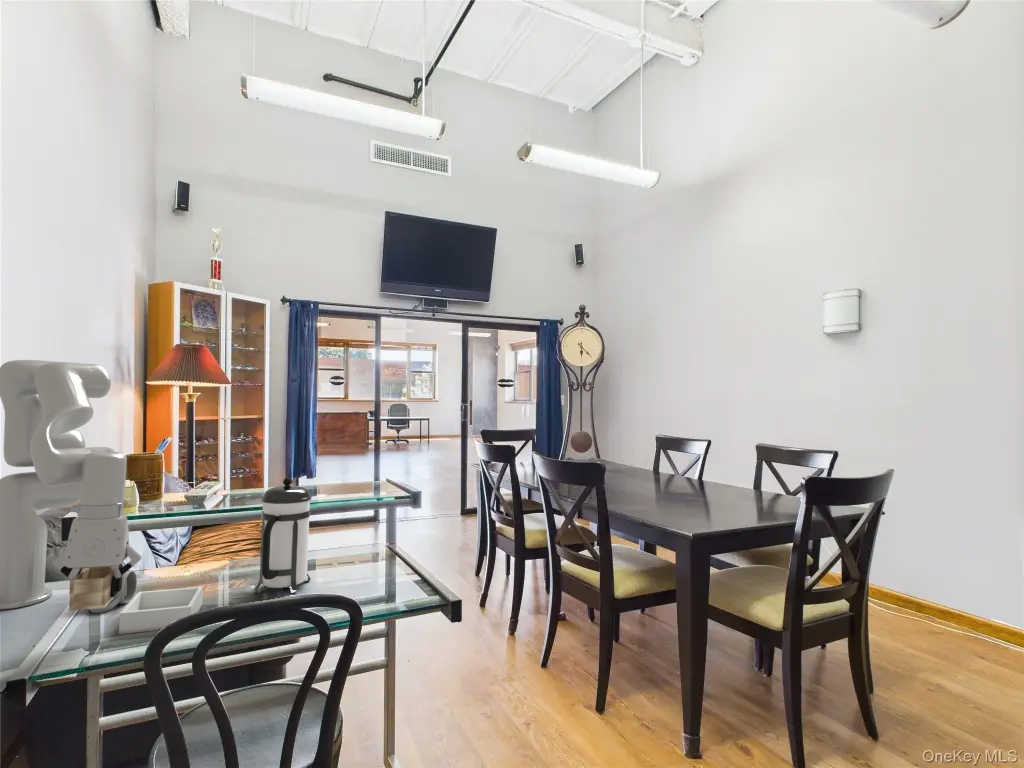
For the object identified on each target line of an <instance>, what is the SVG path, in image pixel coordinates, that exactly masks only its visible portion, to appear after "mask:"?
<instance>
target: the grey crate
mask: <svg viewBox="0 0 1024 768" xmlns="http://www.w3.org/2000/svg"><path fill="white" fill-rule="evenodd" d="M203 592H204V587H203V586H197V587H196V586H195V587H184V588H183V587H182V588H173V589H172V588H171V589H170V588H169V589H159V590H148V591H147V590H146V591H139V592H137V594H135V595H134V597H133V599H132V600H131V601H130V602H129V603H127V604H126V605H125V607H124V608H123V609H122V610H121V611H120V613H119V623H118V625H119V626H118V635H124V634H125V635H127V634H133V633H136V634H137V633H145V632H154V631H160V630H159V629H161V628H162V627H164V626H166V625H168V624H170V623H171V622H173V621H175V620H177V619H180V618H183V617H186V616H188V615H191V614H194V613H196V612H198V613H199V611H200V609H201V608H202V606H203V595H204V593H203Z"/></svg>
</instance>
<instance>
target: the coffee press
mask: <svg viewBox="0 0 1024 768" xmlns="http://www.w3.org/2000/svg"><path fill="white" fill-rule="evenodd" d="M292 482H293V481H292V479H291V478H290V477H285V478H284V479H283V481H282V483H283V485H281V486H280V485H279V486H274V487H270V488H269V489H267V490H266V491H265V492H264V494H263V496H262V497H261V499H260V500H261V502H262V510H261V517H260V518H261V519H262V520H261V539H260V561H259V563H260V565H259V580H258V583H257V585H256V586H255V587H254V592H256V593H257V594H261V593H262V592H263V591H264V590H265V589H266V588H273V589H283V587H284V588H288V587H290V586H291V587H292V589H293V590H297V591H298V585H299V584H302V583H304V582H305V583H309V582H311V579H312V578H311V577H310V575H309V573H308V562H309V561H308V554H309V535H310V534H309V532H310V531H309V530H310V516H311V508H310V505H311V500H312V495H311V493H310V491H309V490H308V489H307V488H306V487H303V486H299V485H291V484H292ZM306 580H308V582H306ZM261 585H262V587H261V588H260V586H261ZM259 588H260V589H259Z"/></svg>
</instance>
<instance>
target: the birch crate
mask: <svg viewBox="0 0 1024 768" xmlns="http://www.w3.org/2000/svg"><path fill="white" fill-rule="evenodd" d="M113 575H114V574H113V572H112V570H111V567H99V568H83V569H82V571H81V573H79V574H78V575H77V576H76V577H75V578H73V579H72V580H71V588H70V587H69V604H68V611H80V610H90V609H97V608H105V607H106V606H107V605H108V604H109V603H110V601H111V600H112V599H113V598H114V597H110V592H111V580H112V578H113ZM118 593H119V592H118Z"/></svg>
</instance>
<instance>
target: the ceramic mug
mask: <svg viewBox="0 0 1024 768" xmlns="http://www.w3.org/2000/svg"><path fill="white" fill-rule="evenodd" d="M137 582H138V580H137V575H136V573H135V571H134V570H128V571H127V572H126V573H124V574H123V576H122V588H121V591H120V592H119V593H118V594H117V595H116V596H115V597H114V598H113V599H112V600H111V601H110V603H109V604H108V605H107V606H106V607H105V608H97V609H89V611H90V612H91V613H92V614H93V613H94V614H102V613H105V612H107V611H110V610H112V609H113V608H114V607H116V606H117V605H125V604H126V605H128V604H129V603H130V601H131V600H132V599H133V598H134V597H135V596H136V591H137Z"/></svg>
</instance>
